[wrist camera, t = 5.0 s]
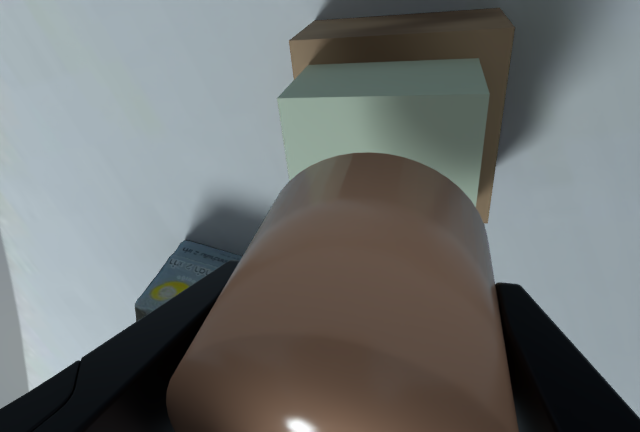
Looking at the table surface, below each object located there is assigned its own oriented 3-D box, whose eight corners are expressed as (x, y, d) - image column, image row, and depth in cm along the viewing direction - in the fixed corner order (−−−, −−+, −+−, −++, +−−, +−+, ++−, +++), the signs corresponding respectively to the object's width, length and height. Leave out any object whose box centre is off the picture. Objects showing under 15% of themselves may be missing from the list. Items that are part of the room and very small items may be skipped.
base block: (499, 6, 16) (514, 27, 13) (479, 174, 20) (487, 223, 16) (316, 19, 18) (288, 40, 14) (330, 171, 21) (311, 215, 18)
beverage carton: (310, 269, 25) (276, 361, 20) (274, 430, 37) (246, 517, 31) (183, 232, 26) (117, 313, 21) (186, 402, 37) (145, 483, 32)
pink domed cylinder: (505, 154, 8) (568, 367, 4) (474, 339, 10) (494, 567, 7) (251, 149, 9) (118, 312, 5) (282, 317, 11) (208, 503, 8)
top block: (478, 57, 13) (489, 93, 11) (463, 207, 16) (468, 267, 13) (308, 64, 15) (277, 98, 12) (322, 202, 18) (300, 255, 15)
